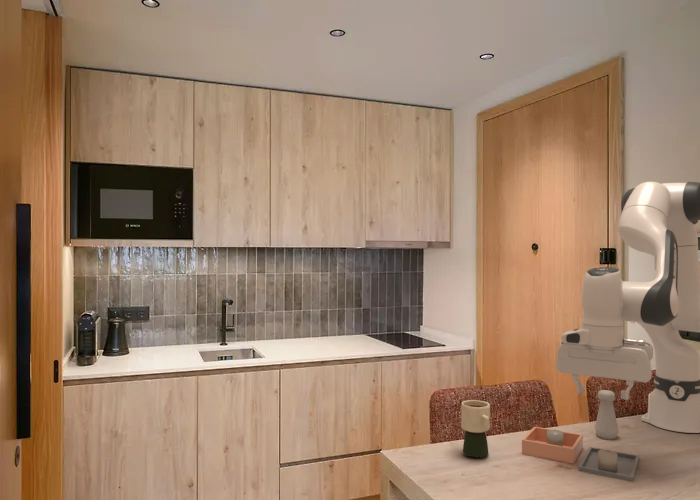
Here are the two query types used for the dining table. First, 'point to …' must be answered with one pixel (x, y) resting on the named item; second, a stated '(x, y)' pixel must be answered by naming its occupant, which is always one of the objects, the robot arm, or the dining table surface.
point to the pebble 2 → (607, 461)
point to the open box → (552, 446)
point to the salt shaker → (606, 416)
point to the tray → (624, 465)
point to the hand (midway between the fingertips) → (602, 396)
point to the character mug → (475, 427)
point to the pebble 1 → (555, 437)
